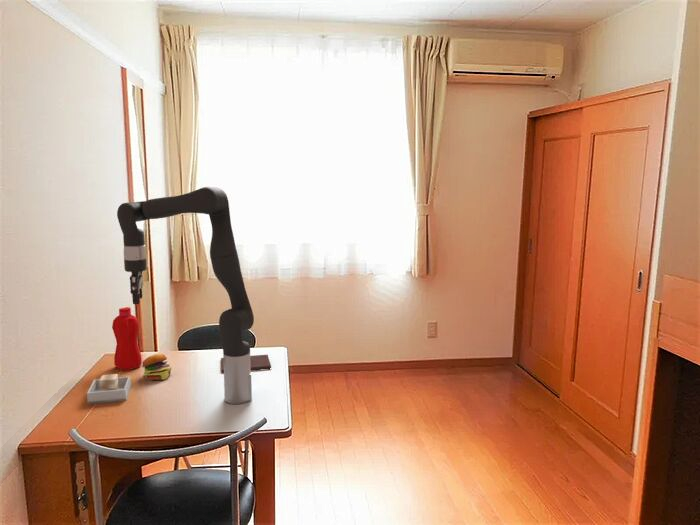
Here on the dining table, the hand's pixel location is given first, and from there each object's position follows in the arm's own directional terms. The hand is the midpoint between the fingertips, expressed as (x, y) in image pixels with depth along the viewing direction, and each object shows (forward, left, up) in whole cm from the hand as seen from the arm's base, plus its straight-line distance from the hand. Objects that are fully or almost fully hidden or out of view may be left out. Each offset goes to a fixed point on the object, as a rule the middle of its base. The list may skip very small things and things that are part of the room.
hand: (137, 301), depth 188 cm
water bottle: (+8, -20, -32) cm, 39 cm away
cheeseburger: (-4, -6, -32) cm, 33 cm away
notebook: (-39, -11, -33) cm, 52 cm away
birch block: (+10, +8, -31) cm, 34 cm away
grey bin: (+10, +8, -32) cm, 35 cm away
